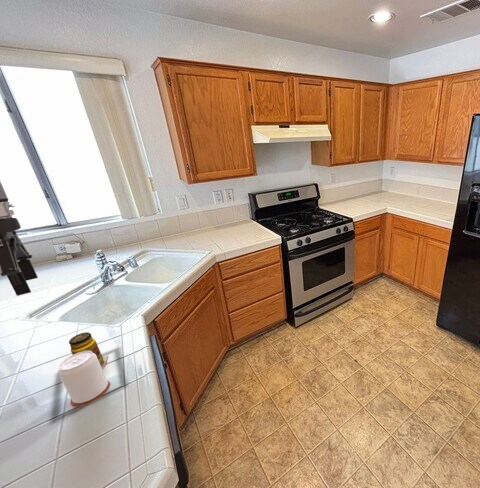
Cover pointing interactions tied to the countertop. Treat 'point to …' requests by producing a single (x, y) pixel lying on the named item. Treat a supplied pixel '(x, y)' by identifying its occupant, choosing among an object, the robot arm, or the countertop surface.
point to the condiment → (86, 346)
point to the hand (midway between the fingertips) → (28, 286)
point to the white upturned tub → (82, 376)
